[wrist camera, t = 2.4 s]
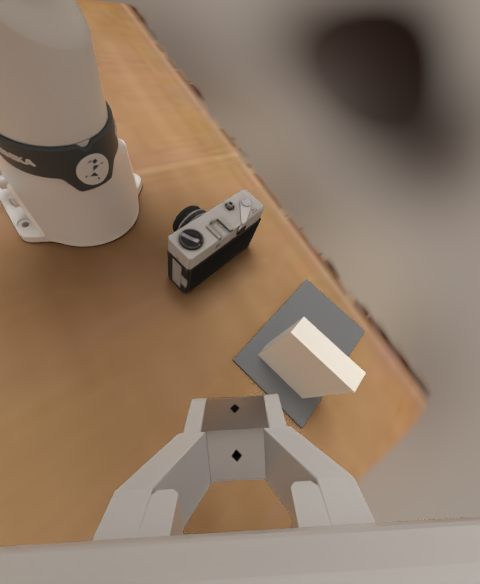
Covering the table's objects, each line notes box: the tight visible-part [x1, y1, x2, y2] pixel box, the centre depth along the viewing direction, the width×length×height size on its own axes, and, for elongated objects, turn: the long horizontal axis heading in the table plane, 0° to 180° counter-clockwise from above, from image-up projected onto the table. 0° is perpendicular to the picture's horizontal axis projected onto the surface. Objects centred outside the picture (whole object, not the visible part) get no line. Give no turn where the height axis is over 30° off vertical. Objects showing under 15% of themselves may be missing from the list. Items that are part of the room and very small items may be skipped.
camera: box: [168, 189, 264, 294], centre depth 36 cm, size 14×9×10 cm, turn 129°
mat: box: [233, 280, 364, 428], centre depth 37 cm, size 12×18×1 cm, turn 138°
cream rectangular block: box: [258, 317, 365, 399], centre depth 30 cm, size 8×3×11 cm, turn 48°
